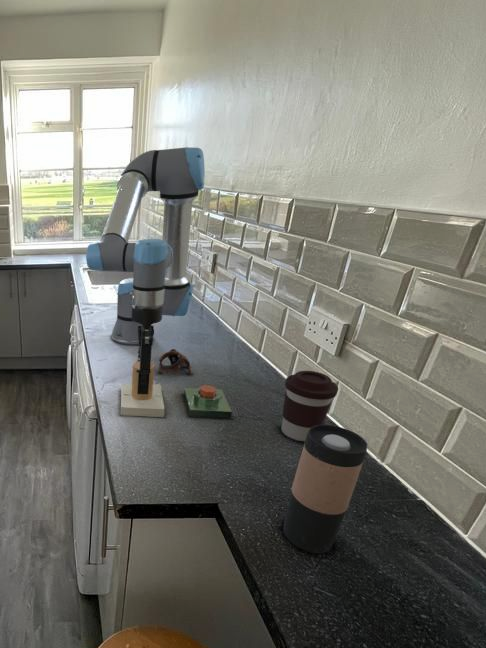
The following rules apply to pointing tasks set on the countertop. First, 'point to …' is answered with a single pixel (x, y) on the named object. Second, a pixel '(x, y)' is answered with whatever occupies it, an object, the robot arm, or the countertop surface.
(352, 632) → the countertop surface
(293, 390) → the coffee cup
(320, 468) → the travel mug
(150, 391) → the knob
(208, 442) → the countertop surface
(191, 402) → the button box
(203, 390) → the button
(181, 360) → the brown arched frame
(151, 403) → the panel
